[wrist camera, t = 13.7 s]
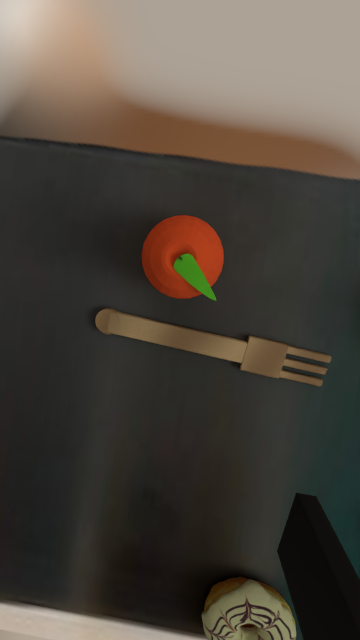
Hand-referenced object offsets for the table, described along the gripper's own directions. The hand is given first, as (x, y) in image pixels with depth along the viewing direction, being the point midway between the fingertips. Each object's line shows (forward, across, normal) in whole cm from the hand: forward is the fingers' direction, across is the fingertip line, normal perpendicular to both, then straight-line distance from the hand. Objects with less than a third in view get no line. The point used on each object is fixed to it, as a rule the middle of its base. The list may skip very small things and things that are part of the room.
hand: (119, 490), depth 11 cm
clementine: (+20, -1, -8) cm, 22 cm away
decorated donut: (+20, -16, +32) cm, 41 cm away
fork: (+20, -5, -1) cm, 20 cm away
